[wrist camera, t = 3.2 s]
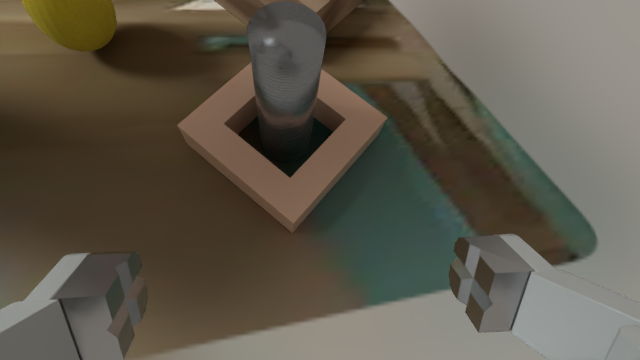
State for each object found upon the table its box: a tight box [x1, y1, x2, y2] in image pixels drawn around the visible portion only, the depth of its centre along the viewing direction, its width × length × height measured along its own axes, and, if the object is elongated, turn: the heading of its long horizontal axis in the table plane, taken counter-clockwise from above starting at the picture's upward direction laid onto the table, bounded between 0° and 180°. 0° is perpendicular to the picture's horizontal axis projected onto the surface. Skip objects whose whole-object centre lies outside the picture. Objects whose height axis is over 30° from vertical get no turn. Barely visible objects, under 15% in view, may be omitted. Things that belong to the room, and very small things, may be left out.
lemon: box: [22, 0, 117, 51], centre depth 27 cm, size 6×6×8 cm
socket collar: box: [177, 63, 387, 233], centre depth 28 cm, size 11×11×3 cm
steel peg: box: [247, 1, 326, 162], centre depth 24 cm, size 4×4×12 cm
